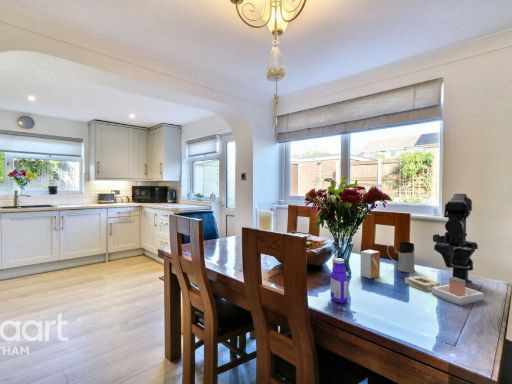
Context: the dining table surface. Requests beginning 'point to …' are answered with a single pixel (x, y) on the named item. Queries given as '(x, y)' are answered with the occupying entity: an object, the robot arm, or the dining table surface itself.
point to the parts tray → (469, 296)
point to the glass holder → (405, 256)
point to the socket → (422, 283)
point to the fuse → (457, 286)
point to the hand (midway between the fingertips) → (455, 266)
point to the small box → (370, 263)
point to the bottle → (339, 281)
